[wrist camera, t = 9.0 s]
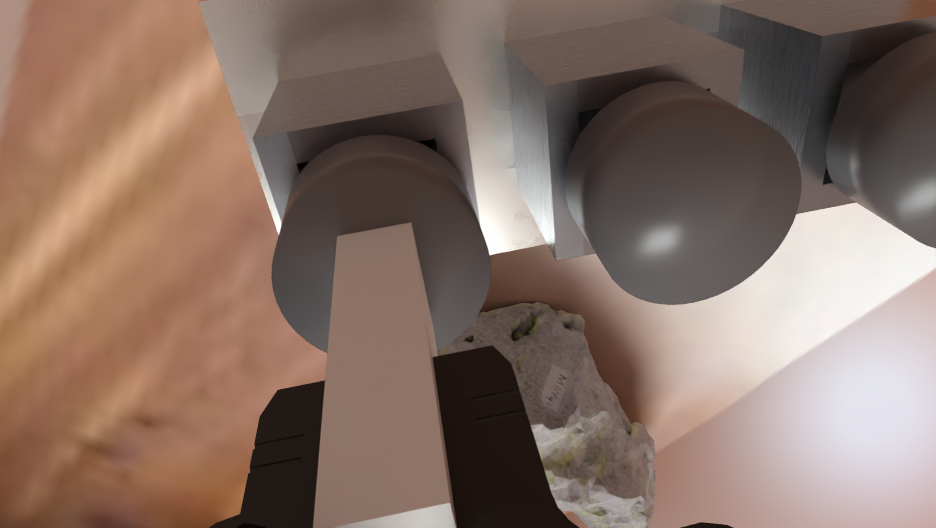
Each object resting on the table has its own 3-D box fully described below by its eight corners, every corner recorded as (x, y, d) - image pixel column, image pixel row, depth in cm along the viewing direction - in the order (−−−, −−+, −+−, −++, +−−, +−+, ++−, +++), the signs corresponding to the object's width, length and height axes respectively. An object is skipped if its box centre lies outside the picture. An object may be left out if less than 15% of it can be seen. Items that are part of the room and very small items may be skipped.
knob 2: (514, 167, 22) (600, 321, 14) (502, 38, 20) (596, 137, 12) (634, 144, 23) (785, 283, 15) (636, 15, 20) (818, 97, 12)
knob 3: (695, 133, 23) (878, 265, 15) (705, 3, 20) (931, 75, 12) (811, 111, 23) (1054, 230, 15) (834, -20, 21) (1140, 37, 12)
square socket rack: (303, 264, 24) (283, 385, 18) (212, -8, 19) (142, 38, 13) (830, 163, 25) (974, 246, 19) (887, -120, 20) (1111, -125, 14)
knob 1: (327, 202, 22) (306, 381, 14) (290, 75, 20) (239, 204, 11) (451, 179, 22) (501, 342, 14) (430, 51, 20) (477, 160, 12)
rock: (686, 427, 33) (754, 539, 27) (578, 494, 34) (620, 613, 29) (521, 245, 25) (566, 348, 19) (392, 342, 27) (399, 462, 21)
